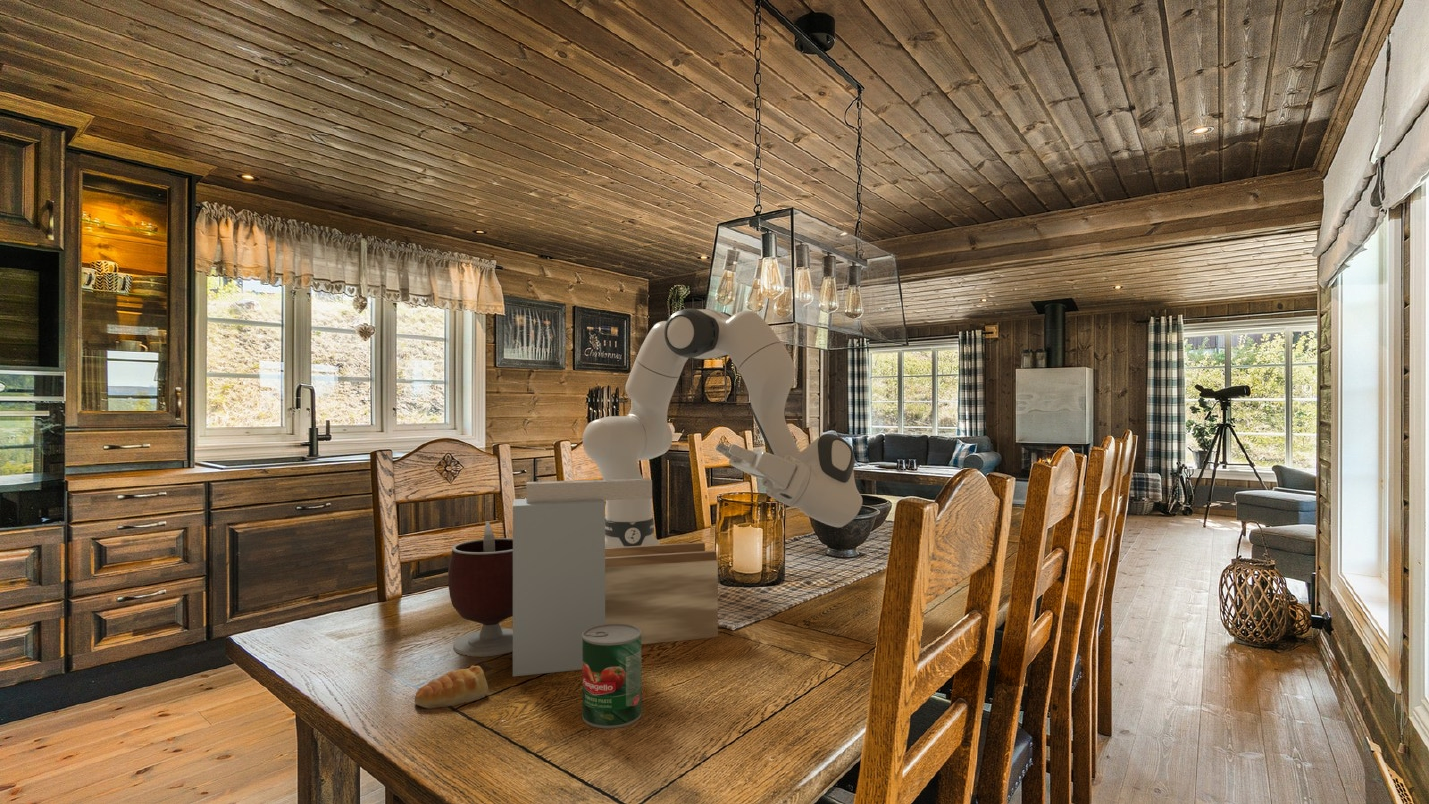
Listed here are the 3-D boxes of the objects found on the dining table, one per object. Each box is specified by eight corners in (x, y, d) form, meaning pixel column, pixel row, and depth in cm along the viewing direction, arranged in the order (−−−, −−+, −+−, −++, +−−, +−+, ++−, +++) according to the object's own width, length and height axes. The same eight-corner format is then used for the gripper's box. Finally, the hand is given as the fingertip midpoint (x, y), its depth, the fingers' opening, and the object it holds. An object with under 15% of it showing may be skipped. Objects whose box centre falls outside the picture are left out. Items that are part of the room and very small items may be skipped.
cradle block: (582, 629, 125) (582, 548, 125) (702, 618, 131) (702, 541, 131) (587, 649, 114) (587, 561, 114) (717, 637, 121) (717, 552, 121)
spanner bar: (526, 500, 109) (526, 482, 109) (648, 496, 114) (648, 478, 114) (526, 503, 106) (526, 484, 106) (652, 498, 111) (652, 480, 111)
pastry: (423, 717, 90) (423, 689, 90) (407, 701, 95) (407, 674, 95) (492, 698, 96) (492, 671, 96) (474, 683, 101) (474, 658, 101)
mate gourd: (537, 651, 114) (537, 532, 114) (449, 663, 108) (449, 538, 109) (525, 624, 128) (525, 518, 128) (447, 633, 123) (447, 523, 123)
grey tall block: (513, 658, 111) (513, 499, 111) (599, 649, 114) (599, 496, 115) (512, 676, 103) (512, 506, 103) (605, 667, 107) (605, 502, 107)
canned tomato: (644, 702, 94) (644, 622, 94) (639, 728, 86) (639, 642, 86) (587, 702, 94) (587, 623, 94) (576, 729, 86) (576, 643, 86)
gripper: (774, 461, 141) (717, 431, 138) (811, 467, 121) (745, 432, 119) (761, 488, 140) (703, 459, 138) (796, 498, 120) (730, 464, 118)
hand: (723, 446), depth 128 cm, fingers open, 8 cm apart
